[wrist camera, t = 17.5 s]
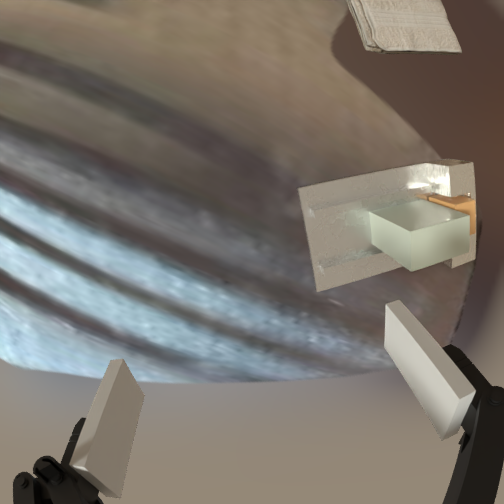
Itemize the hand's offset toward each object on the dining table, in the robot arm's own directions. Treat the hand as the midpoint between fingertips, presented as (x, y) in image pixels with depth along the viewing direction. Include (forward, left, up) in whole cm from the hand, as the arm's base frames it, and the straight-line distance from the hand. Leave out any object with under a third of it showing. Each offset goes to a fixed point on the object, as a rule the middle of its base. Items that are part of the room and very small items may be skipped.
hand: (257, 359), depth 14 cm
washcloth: (-25, +30, -26) cm, 47 cm away
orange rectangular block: (+4, +29, -24) cm, 38 cm away
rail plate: (+4, +20, -25) cm, 32 cm away
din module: (+4, +21, -24) cm, 33 cm away
